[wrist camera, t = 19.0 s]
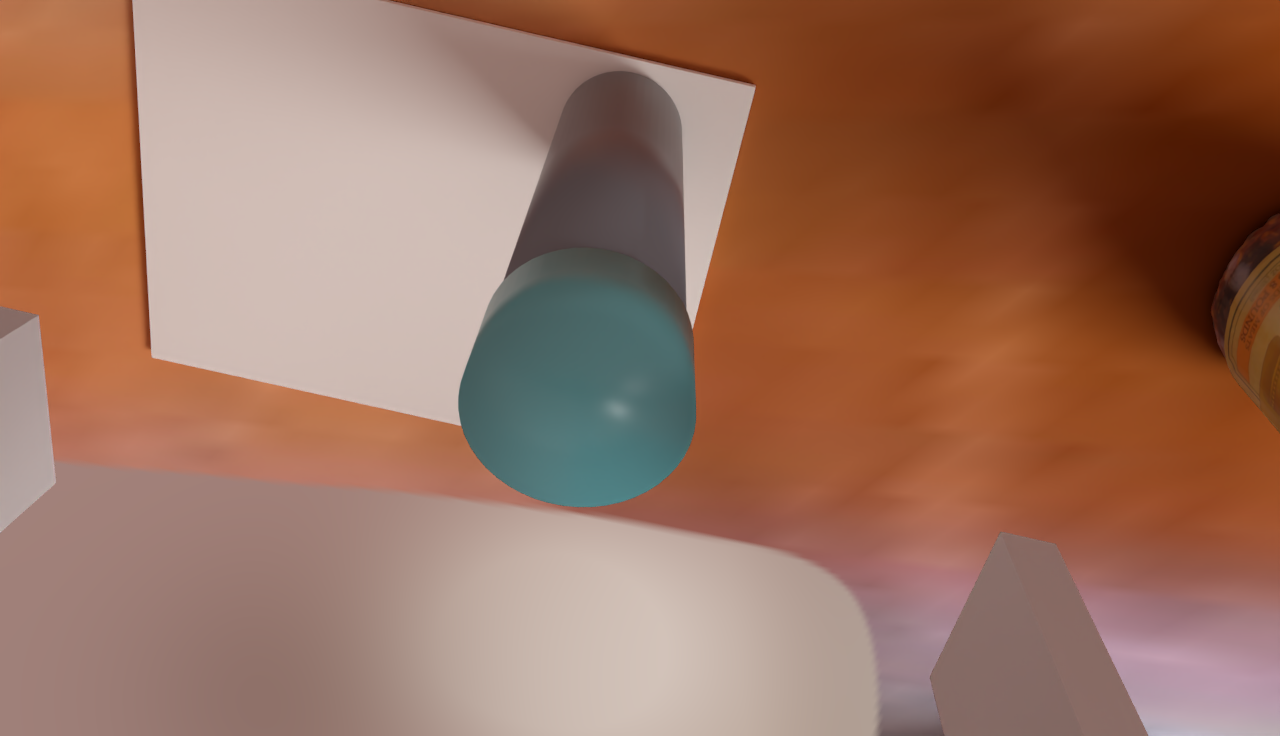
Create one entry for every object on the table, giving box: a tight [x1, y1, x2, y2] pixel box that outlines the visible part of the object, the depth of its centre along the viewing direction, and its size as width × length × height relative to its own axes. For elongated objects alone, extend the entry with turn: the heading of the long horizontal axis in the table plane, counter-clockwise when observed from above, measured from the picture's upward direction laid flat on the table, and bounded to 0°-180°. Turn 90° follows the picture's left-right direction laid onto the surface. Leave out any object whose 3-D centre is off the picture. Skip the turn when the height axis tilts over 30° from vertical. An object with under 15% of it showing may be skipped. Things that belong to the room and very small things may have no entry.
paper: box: [132, 0, 756, 426], centre depth 27 cm, size 12×16×1 cm
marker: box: [458, 71, 696, 507], centre depth 19 cm, size 3×3×13 cm
